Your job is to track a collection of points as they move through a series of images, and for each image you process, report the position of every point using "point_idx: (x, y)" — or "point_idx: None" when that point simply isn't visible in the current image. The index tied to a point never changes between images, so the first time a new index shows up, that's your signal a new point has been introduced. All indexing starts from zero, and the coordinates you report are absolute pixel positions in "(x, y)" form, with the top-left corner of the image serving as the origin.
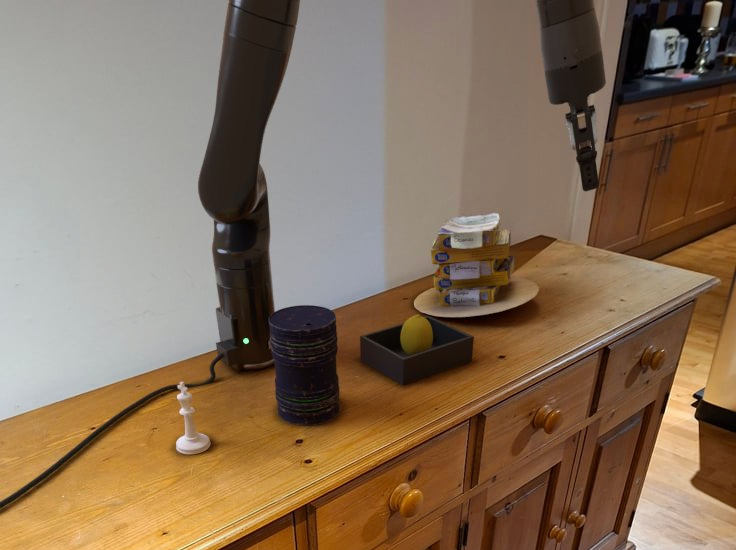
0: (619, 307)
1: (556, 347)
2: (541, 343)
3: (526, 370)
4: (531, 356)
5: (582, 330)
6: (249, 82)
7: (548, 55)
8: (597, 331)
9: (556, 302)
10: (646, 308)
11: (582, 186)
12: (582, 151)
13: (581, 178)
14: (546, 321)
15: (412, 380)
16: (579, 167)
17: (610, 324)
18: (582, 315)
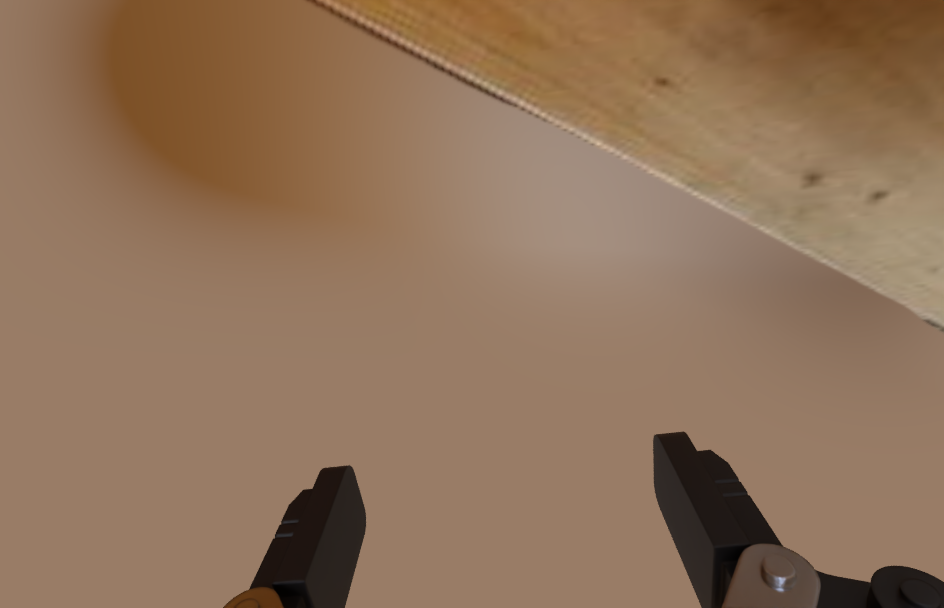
0: (831, 194)
1: (563, 81)
2: (583, 36)
3: (397, 26)
4: (489, 24)
5: (681, 130)
6: None
7: None
8: (676, 164)
9: (902, 29)
10: (816, 246)
11: (317, 481)
12: (709, 562)
13: (303, 515)
14: (747, 23)
15: None
16: (278, 570)
17: (721, 186)
18: (786, 117)
